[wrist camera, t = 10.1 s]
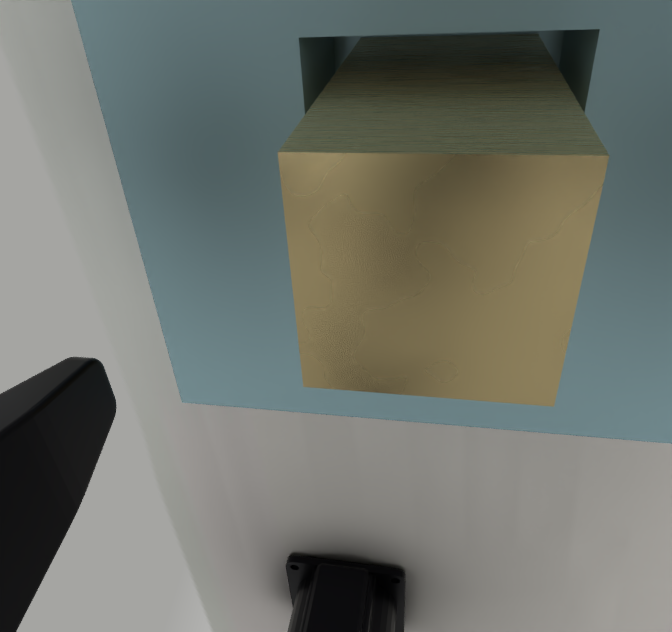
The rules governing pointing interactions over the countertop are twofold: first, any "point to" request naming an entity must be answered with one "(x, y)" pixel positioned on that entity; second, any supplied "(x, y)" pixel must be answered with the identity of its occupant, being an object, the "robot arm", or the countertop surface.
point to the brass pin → (441, 219)
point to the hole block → (267, 203)
